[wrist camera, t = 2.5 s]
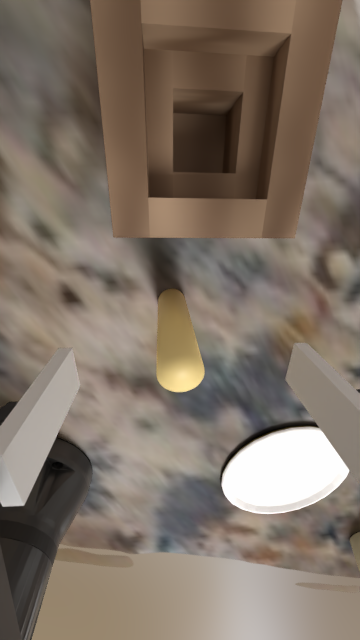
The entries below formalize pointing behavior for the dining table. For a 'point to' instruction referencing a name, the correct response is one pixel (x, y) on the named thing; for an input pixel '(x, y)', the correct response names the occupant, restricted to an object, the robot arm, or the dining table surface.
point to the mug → (356, 547)
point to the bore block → (210, 112)
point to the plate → (283, 471)
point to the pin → (177, 344)
